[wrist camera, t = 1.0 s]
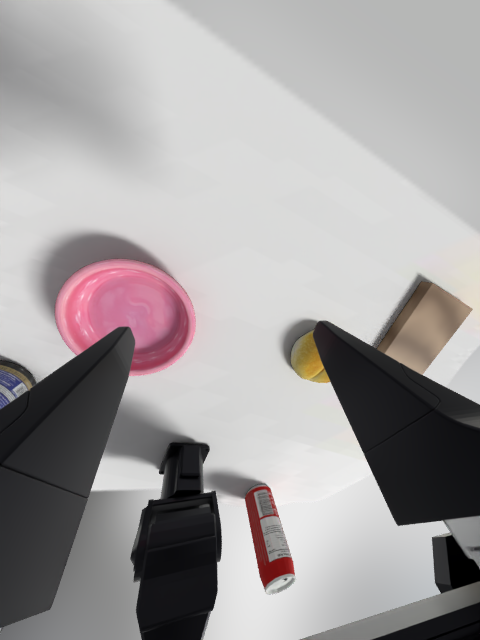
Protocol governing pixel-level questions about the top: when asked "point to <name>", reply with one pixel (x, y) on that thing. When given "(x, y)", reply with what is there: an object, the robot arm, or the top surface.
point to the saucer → (127, 311)
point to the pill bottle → (13, 382)
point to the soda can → (269, 541)
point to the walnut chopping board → (424, 327)
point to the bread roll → (308, 360)
